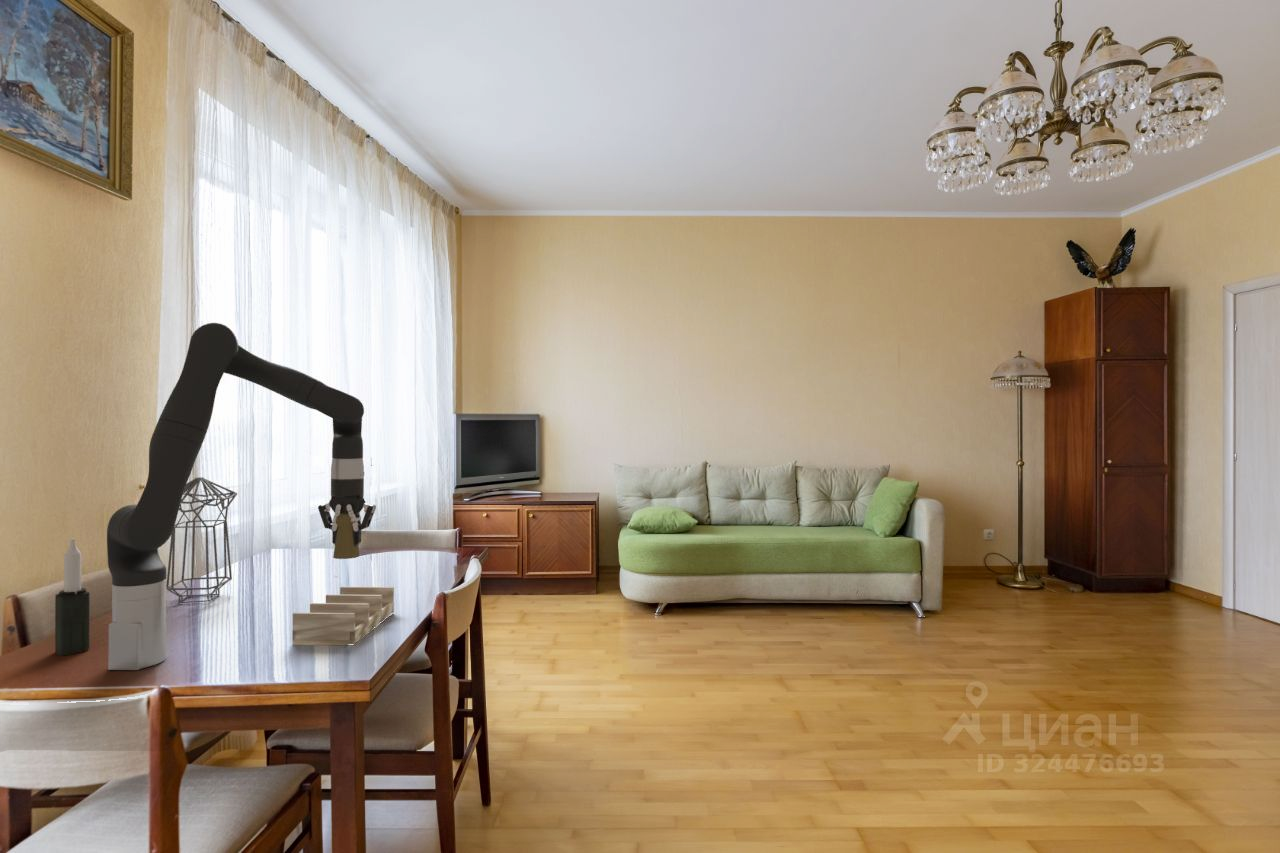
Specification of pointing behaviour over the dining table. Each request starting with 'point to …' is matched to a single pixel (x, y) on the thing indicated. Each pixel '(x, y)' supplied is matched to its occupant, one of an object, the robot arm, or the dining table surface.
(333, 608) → the slot rack
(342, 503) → the robot arm
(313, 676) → the dining table surface
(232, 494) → the geometric lantern
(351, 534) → the cork
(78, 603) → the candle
